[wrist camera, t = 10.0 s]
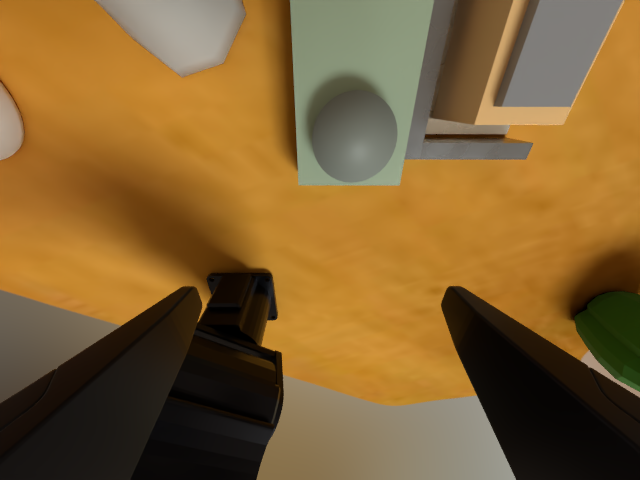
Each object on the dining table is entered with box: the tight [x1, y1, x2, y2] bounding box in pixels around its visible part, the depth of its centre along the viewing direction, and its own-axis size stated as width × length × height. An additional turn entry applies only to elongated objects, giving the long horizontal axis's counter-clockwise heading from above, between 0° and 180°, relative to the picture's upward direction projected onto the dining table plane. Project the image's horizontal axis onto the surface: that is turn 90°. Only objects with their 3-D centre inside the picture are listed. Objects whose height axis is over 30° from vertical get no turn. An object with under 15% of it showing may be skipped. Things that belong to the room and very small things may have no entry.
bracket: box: [404, 0, 533, 159], centre depth 13 cm, size 10×8×2 cm
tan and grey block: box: [432, 0, 625, 125], centre depth 12 cm, size 6×4×6 cm
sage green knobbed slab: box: [290, 0, 434, 185], centre depth 13 cm, size 14×7×4 cm, turn 0°
